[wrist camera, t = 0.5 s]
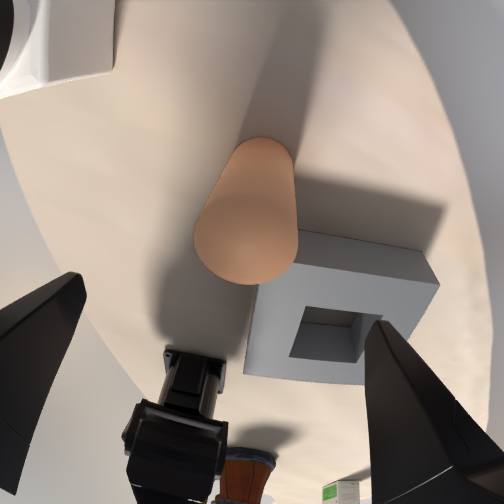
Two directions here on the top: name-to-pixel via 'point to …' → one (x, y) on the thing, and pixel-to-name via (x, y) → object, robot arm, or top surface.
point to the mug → (244, 476)
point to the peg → (250, 216)
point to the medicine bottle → (53, 42)
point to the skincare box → (341, 493)
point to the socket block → (334, 307)
